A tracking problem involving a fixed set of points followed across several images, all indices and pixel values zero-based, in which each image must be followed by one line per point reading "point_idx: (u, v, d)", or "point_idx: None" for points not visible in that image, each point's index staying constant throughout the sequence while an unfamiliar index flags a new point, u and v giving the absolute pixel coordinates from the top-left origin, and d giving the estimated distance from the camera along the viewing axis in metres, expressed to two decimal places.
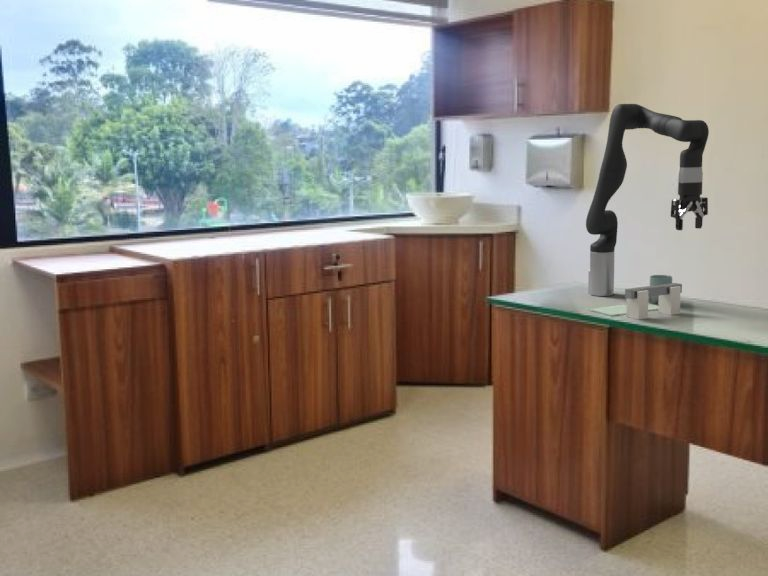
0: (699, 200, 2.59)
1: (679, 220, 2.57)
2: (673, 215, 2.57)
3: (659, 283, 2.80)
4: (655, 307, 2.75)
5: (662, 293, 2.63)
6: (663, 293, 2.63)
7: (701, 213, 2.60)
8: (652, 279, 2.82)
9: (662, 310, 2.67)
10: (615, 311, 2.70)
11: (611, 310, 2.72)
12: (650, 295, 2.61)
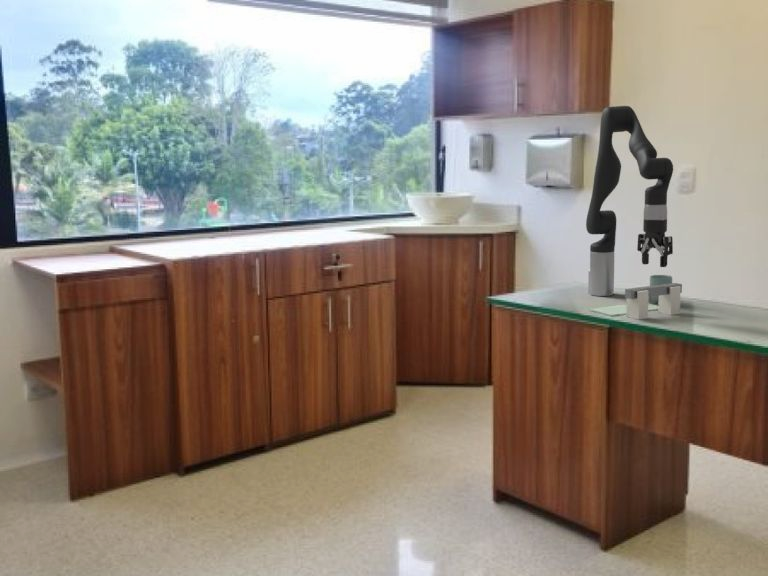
0: None
1: None
2: (669, 252, 2.54)
3: (659, 283, 2.80)
4: (655, 307, 2.75)
5: (662, 293, 2.63)
6: (663, 293, 2.63)
7: None
8: (652, 279, 2.82)
9: (662, 310, 2.67)
10: (615, 311, 2.70)
11: (611, 310, 2.72)
12: (650, 295, 2.61)
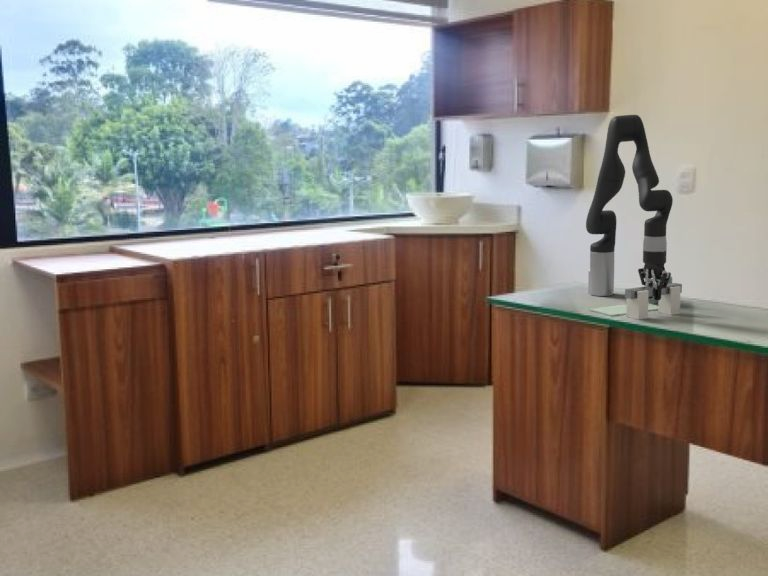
0: None
1: None
2: (663, 287, 2.59)
3: None
4: (655, 307, 2.75)
5: (662, 293, 2.63)
6: (663, 293, 2.63)
7: None
8: None
9: (662, 310, 2.67)
10: (615, 311, 2.70)
11: (611, 310, 2.72)
12: (650, 295, 2.61)
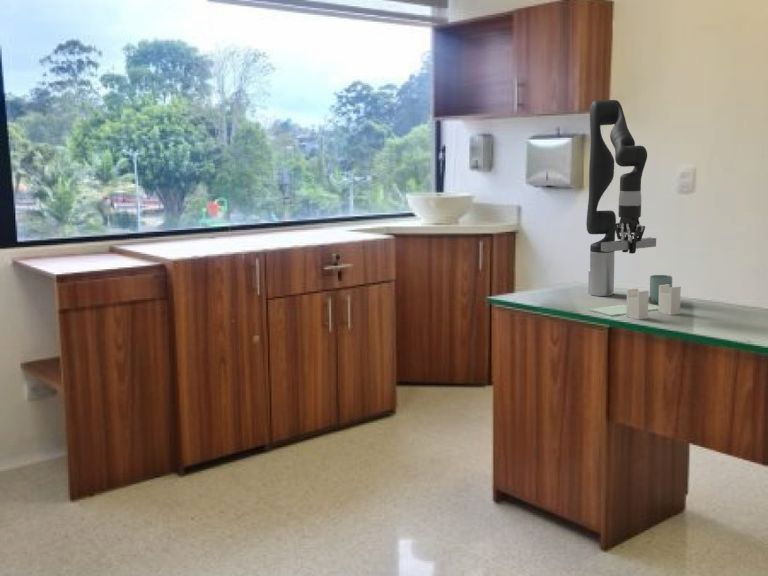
0: None
1: None
2: (637, 240, 2.67)
3: (659, 283, 2.80)
4: (655, 307, 2.75)
5: (637, 247, 2.71)
6: (638, 247, 2.71)
7: None
8: (652, 279, 2.82)
9: (662, 310, 2.67)
10: (615, 311, 2.70)
11: (611, 310, 2.72)
12: (625, 248, 2.69)
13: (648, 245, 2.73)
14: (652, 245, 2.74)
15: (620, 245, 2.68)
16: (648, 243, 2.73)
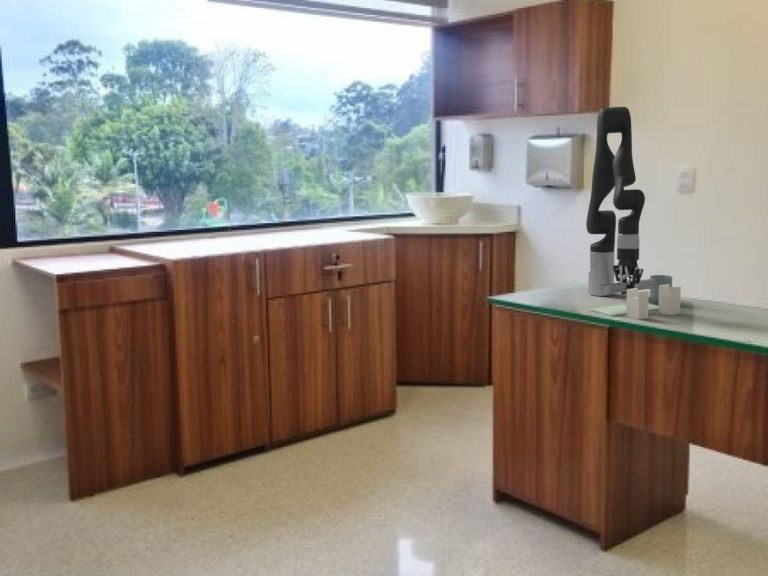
0: None
1: None
2: (636, 282, 2.69)
3: (659, 283, 2.80)
4: (655, 307, 2.75)
5: None
6: None
7: None
8: (652, 279, 2.82)
9: (662, 310, 2.67)
10: (615, 311, 2.70)
11: (611, 310, 2.72)
12: (624, 290, 2.71)
13: (647, 287, 2.75)
14: (651, 287, 2.76)
15: (619, 287, 2.70)
16: (646, 285, 2.75)
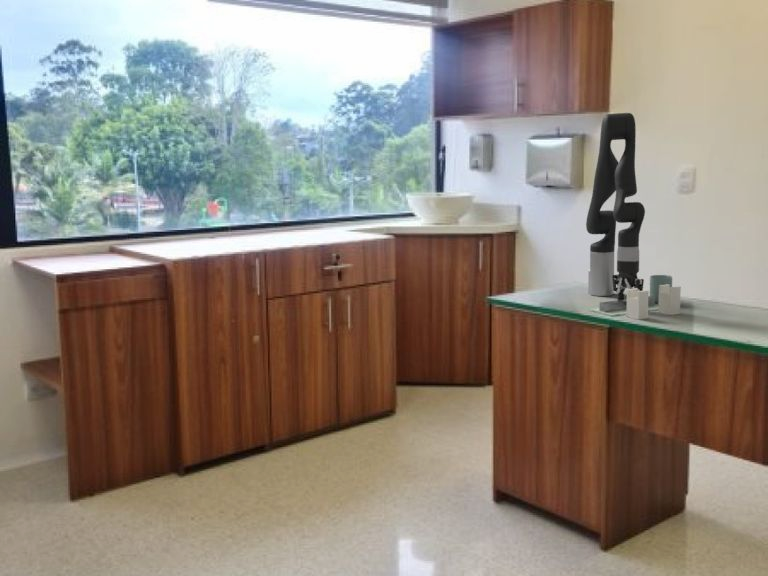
0: None
1: None
2: None
3: (659, 283, 2.80)
4: (655, 307, 2.75)
5: None
6: None
7: None
8: (652, 279, 2.82)
9: (662, 310, 2.67)
10: (615, 311, 2.70)
11: None
12: (623, 308, 2.72)
13: None
14: (650, 304, 2.77)
15: (619, 305, 2.71)
16: None
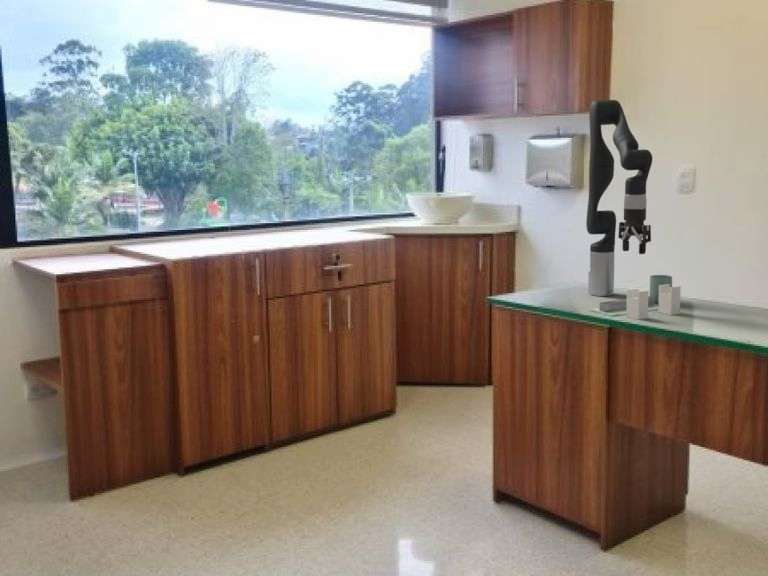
0: None
1: None
2: (647, 240, 2.67)
3: (659, 283, 2.80)
4: (655, 307, 2.75)
5: None
6: None
7: None
8: (652, 279, 2.82)
9: (662, 310, 2.67)
10: (615, 311, 2.70)
11: None
12: (623, 308, 2.72)
13: None
14: (650, 304, 2.77)
15: (619, 305, 2.71)
16: None
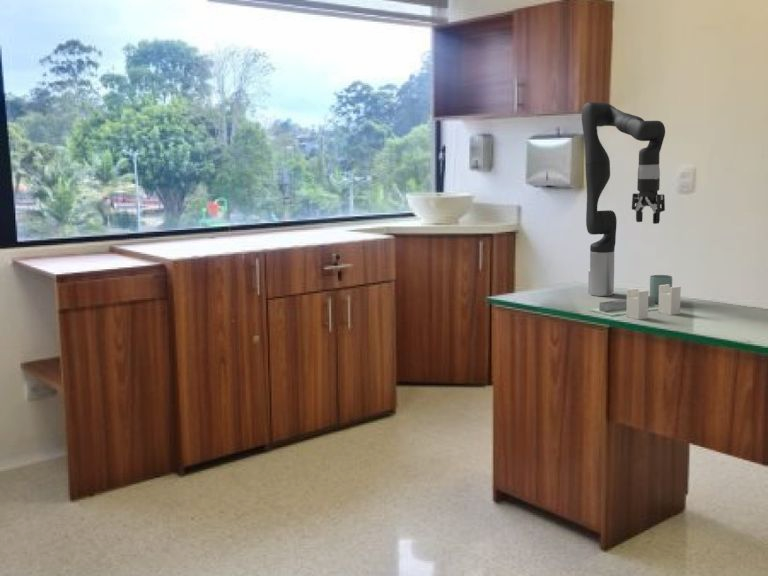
0: None
1: None
2: (661, 209, 2.71)
3: (659, 283, 2.80)
4: (655, 307, 2.75)
5: None
6: None
7: None
8: (652, 279, 2.82)
9: (662, 310, 2.67)
10: (615, 311, 2.70)
11: None
12: (623, 308, 2.72)
13: None
14: (650, 304, 2.77)
15: (619, 305, 2.71)
16: None
